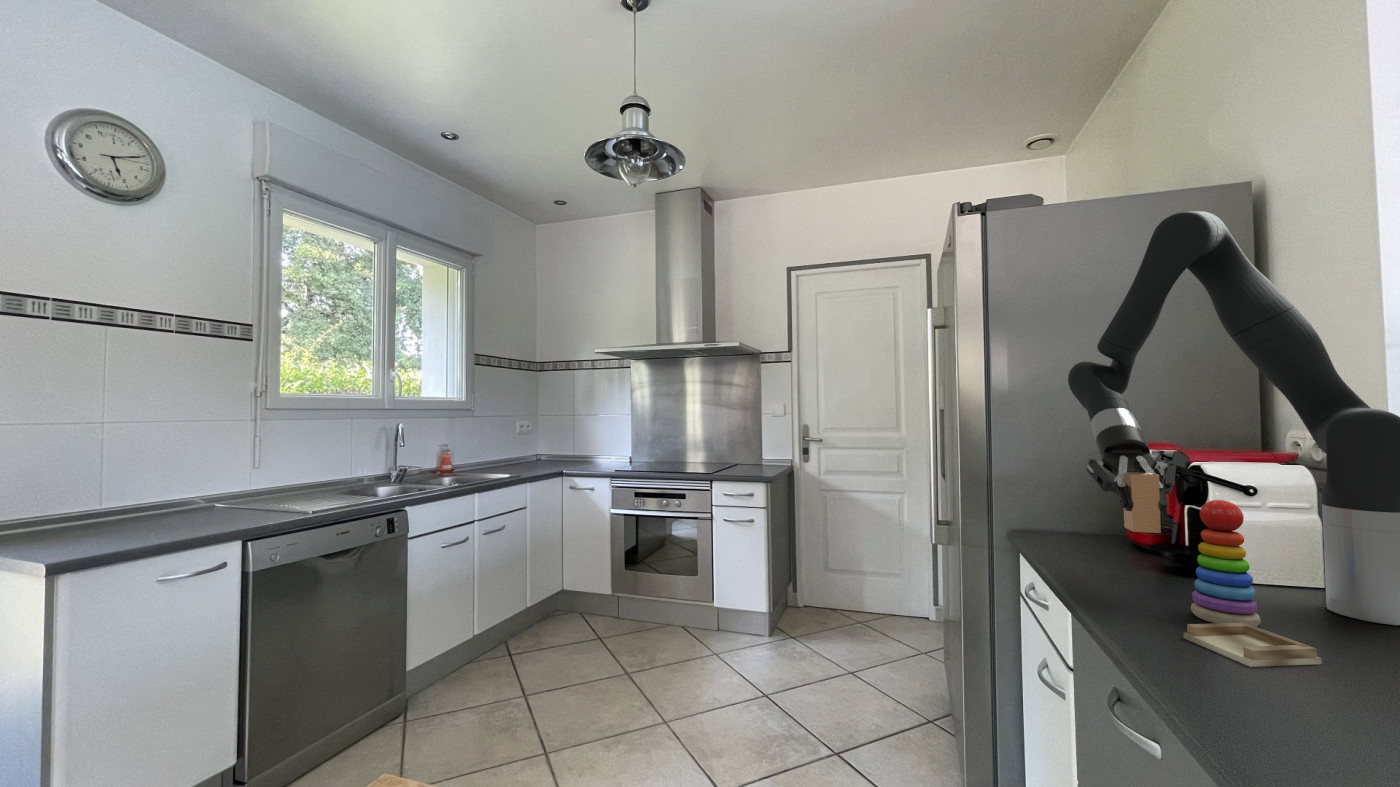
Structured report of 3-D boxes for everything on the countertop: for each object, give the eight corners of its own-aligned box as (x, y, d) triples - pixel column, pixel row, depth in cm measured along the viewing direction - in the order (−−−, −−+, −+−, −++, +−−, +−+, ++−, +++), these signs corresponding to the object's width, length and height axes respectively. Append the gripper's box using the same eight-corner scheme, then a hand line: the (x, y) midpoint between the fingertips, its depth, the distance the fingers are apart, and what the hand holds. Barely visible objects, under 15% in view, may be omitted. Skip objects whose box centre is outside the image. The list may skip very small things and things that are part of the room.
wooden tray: (1247, 636, 80) (1247, 622, 80) (1321, 664, 71) (1321, 648, 71) (1183, 638, 80) (1183, 624, 80) (1250, 666, 71) (1249, 651, 71)
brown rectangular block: (1124, 527, 100) (1122, 472, 101) (1151, 528, 99) (1149, 472, 99) (1132, 531, 97) (1130, 474, 97) (1160, 533, 95) (1158, 475, 96)
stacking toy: (1275, 632, 82) (1271, 505, 83) (1213, 628, 84) (1209, 503, 84) (1235, 613, 90) (1231, 497, 90) (1179, 609, 91) (1175, 496, 92)
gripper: (1079, 423, 108) (1102, 494, 96) (1168, 423, 103) (1204, 498, 91) (1072, 448, 113) (1093, 519, 101) (1157, 449, 108) (1190, 524, 96)
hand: (1145, 508), depth 96 cm, fingers closed on brown rectangular block, 4 cm apart
